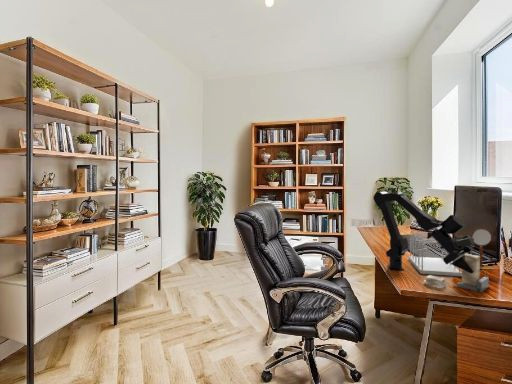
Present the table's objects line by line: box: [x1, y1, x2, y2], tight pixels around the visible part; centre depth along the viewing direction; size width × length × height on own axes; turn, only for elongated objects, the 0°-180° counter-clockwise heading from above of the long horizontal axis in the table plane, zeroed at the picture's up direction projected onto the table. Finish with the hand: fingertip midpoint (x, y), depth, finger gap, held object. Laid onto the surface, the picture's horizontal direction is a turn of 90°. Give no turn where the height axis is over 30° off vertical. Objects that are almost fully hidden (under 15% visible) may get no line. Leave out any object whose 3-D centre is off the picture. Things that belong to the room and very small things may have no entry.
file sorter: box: [407, 231, 462, 277], centre depth 150 cm, size 25×17×16 cm
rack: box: [456, 276, 490, 293], centre depth 124 cm, size 8×9×4 cm
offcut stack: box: [422, 274, 447, 290], centre depth 127 cm, size 7×5×4 cm
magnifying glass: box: [470, 227, 493, 269], centre depth 146 cm, size 9×2×20 cm, turn 76°
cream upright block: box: [461, 254, 481, 286], centre depth 125 cm, size 5×4×13 cm
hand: (474, 271), depth 124 cm, fingers open, 5 cm apart
